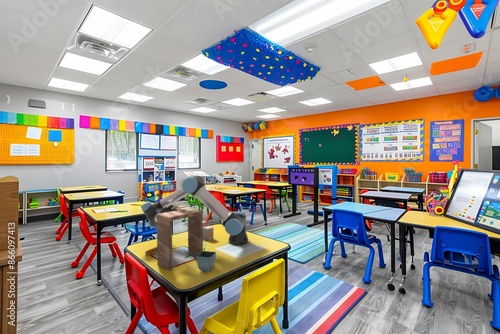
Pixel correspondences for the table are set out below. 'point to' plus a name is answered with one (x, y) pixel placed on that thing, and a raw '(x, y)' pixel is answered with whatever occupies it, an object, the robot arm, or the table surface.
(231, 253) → the table surface
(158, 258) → the shelf
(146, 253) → the kendama
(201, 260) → the flower pot
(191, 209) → the salad server
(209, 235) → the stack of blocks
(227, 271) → the table surface
